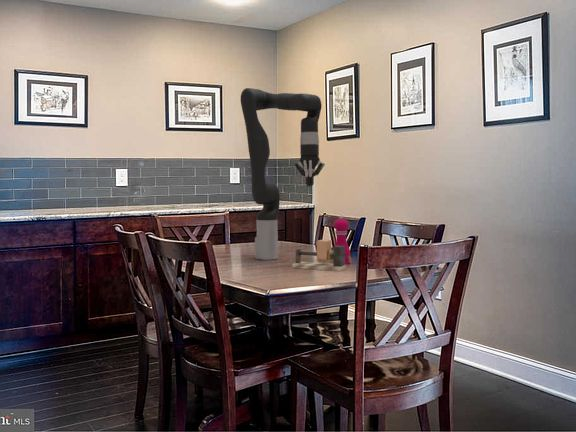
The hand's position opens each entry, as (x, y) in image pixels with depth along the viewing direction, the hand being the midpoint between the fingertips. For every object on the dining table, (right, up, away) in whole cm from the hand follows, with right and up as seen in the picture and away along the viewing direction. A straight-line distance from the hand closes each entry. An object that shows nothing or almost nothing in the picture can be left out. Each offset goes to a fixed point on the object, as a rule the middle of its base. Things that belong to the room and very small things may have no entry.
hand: (309, 186), depth 232 cm
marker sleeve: (+5, -29, -11) cm, 32 cm away
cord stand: (+3, -33, -10) cm, 34 cm away
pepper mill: (+13, -32, +2) cm, 35 cm away
